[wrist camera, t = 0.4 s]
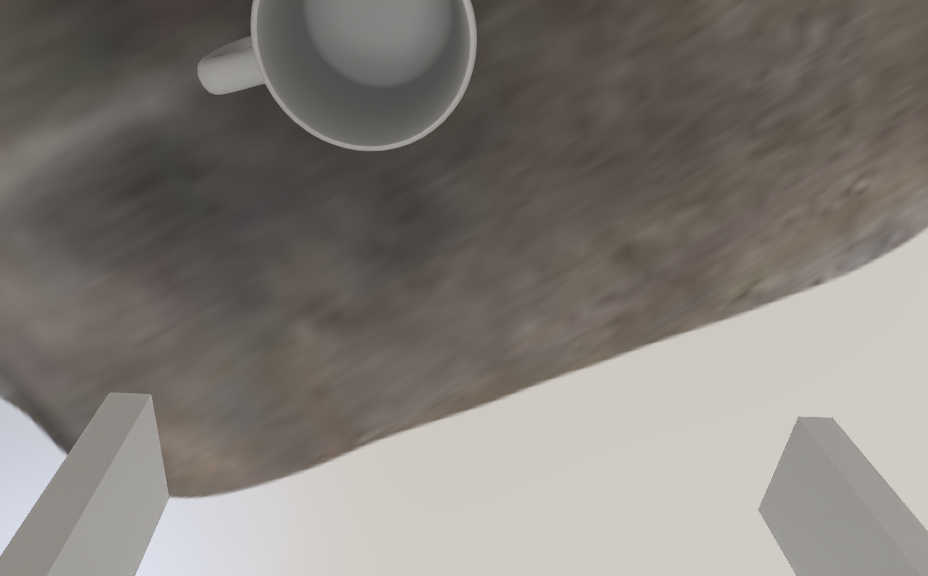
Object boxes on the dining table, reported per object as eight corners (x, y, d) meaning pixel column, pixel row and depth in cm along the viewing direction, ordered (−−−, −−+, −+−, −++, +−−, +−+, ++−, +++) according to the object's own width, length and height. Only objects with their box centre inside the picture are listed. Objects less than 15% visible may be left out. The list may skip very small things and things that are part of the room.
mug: (436, -110, 31) (444, -123, 22) (480, 67, 36) (502, 122, 26) (202, -38, 32) (112, -19, 23) (272, 127, 36) (219, 201, 27)
